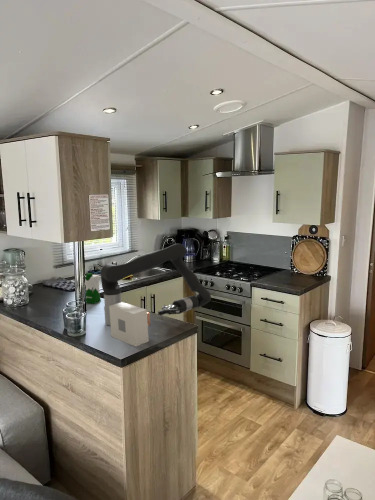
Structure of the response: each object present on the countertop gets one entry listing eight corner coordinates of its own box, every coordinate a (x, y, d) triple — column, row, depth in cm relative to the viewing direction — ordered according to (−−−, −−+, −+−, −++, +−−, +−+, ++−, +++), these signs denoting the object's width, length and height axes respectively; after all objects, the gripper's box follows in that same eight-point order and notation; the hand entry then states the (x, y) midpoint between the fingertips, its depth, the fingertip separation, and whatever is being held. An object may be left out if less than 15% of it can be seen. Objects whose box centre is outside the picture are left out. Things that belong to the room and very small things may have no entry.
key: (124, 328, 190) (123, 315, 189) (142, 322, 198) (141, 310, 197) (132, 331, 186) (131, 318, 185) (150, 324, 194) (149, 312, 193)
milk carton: (83, 303, 253) (81, 273, 250) (92, 299, 261) (90, 271, 258) (94, 304, 249) (92, 274, 246) (103, 300, 257) (100, 271, 254)
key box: (111, 336, 193) (109, 305, 191) (124, 331, 199) (122, 302, 196) (135, 346, 179) (133, 313, 177) (148, 341, 185) (146, 309, 182)
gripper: (174, 296, 217) (150, 304, 205) (190, 301, 208) (167, 308, 196) (174, 309, 219) (151, 317, 207) (191, 314, 209) (167, 322, 197)
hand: (159, 313), depth 201 cm, fingers closed
